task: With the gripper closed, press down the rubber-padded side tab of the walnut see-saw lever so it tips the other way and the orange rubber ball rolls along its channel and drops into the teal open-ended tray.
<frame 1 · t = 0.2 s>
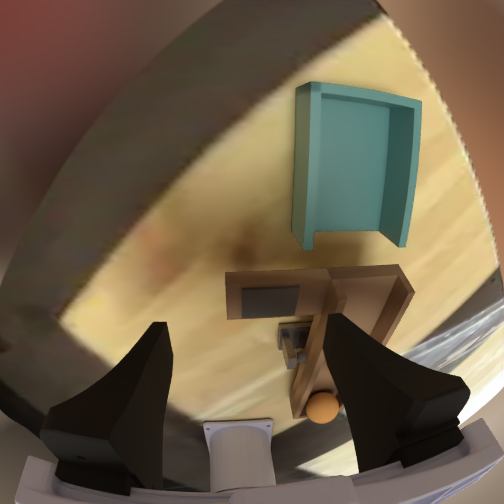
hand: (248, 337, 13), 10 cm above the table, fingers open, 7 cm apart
lever: (305, 365, 22), point 4 cm above the table, hinge at -14.0°, touching ball
teal open-ended tray: (346, 162, 20), on the table
ball: (322, 407, 26), point 3 cm above the table, tilted 20°, touching lever
fulcrum: (324, 331, 26), on the table
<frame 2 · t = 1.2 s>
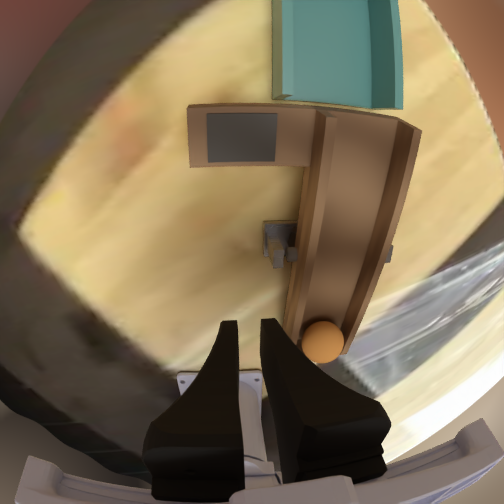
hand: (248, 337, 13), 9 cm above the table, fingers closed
lever: (296, 262, 18), point 4 cm above the table, hinge at -14.0°, touching ball
teal open-ended tray: (327, 36, 16), on the table
ball: (322, 342, 21), point 3 cm above the table, tilted 20°, touching lever
fulcrum: (320, 236, 22), on the table
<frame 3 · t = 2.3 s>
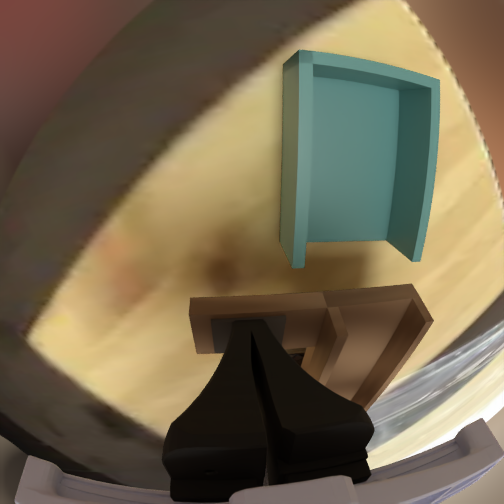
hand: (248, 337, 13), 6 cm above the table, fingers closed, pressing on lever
lever: (296, 399, 18), point 4 cm above the table, hinge at -14.0°, touching ball, gripper
teal open-ended tray: (347, 157, 16), on the table
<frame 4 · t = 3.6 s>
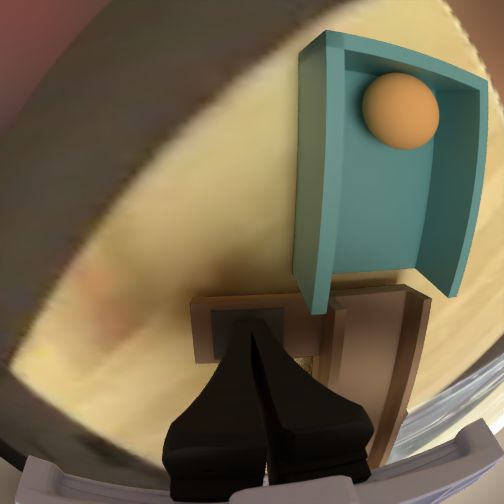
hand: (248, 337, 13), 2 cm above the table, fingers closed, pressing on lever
lever: (308, 442, 15), point 4 cm above the table, hinge at 13.3°, touching gripper
teal open-ended tray: (375, 170, 13), on the table
ball: (401, 110, 10), point 2 cm above the table, tilted 174°, touching teal open-ended tray
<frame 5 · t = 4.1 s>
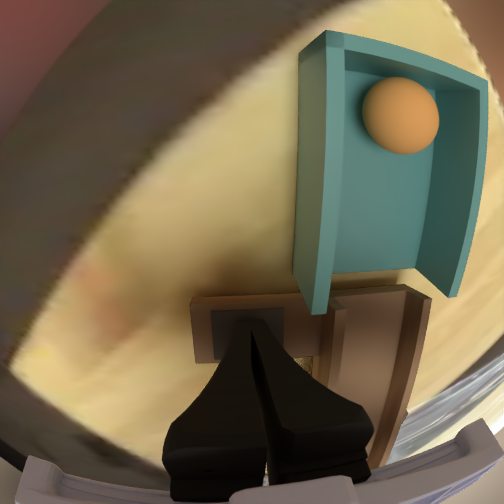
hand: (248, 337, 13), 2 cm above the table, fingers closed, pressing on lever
lever: (308, 442, 15), point 4 cm above the table, hinge at 13.3°, touching gripper
teal open-ended tray: (375, 170, 13), on the table
ball: (400, 115, 10), point 2 cm above the table, tilted 168°, touching teal open-ended tray
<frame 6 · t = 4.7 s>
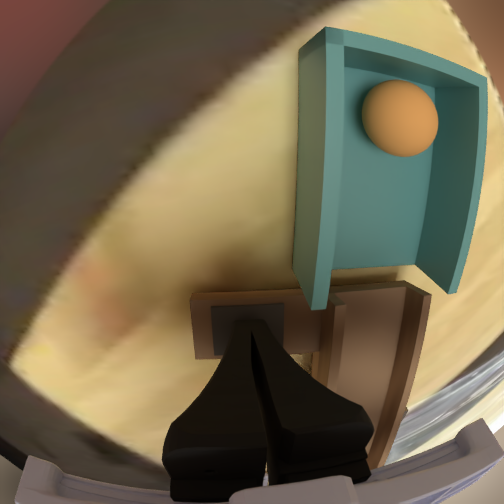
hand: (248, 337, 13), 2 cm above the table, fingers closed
lever: (308, 439, 15), point 4 cm above the table, hinge at 13.3°
teal open-ended tray: (375, 166, 13), on the table
ball: (400, 117, 10), point 2 cm above the table, tilted 158°, touching teal open-ended tray
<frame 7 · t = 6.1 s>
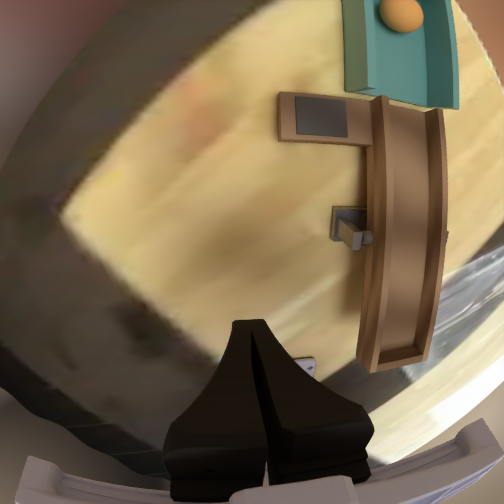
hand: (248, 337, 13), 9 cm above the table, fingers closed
lever: (373, 239, 18), point 4 cm above the table, hinge at 13.3°
teal open-ended tray: (390, 38, 16), on the table
ball: (401, 12, 13), point 2 cm above the table, tilted 136°, touching teal open-ended tray
fulcrum: (381, 222, 22), on the table
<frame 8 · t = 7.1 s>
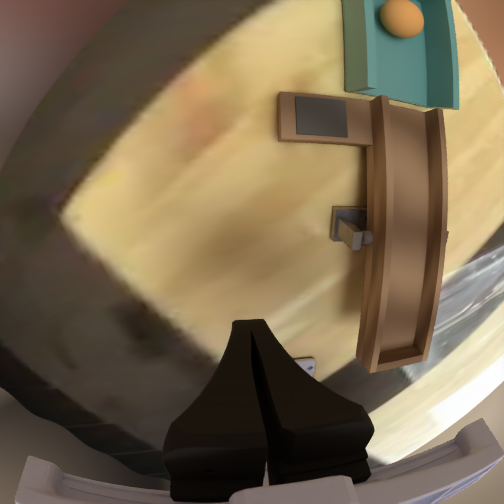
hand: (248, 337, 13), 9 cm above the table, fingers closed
lever: (373, 239, 18), point 4 cm above the table, hinge at 13.3°
teal open-ended tray: (390, 38, 16), on the table
ball: (401, 17, 14), point 2 cm above the table, tilted 121°, touching teal open-ended tray
fulcrum: (381, 222, 22), on the table
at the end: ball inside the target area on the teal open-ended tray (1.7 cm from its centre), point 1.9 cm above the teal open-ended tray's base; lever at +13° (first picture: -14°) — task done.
